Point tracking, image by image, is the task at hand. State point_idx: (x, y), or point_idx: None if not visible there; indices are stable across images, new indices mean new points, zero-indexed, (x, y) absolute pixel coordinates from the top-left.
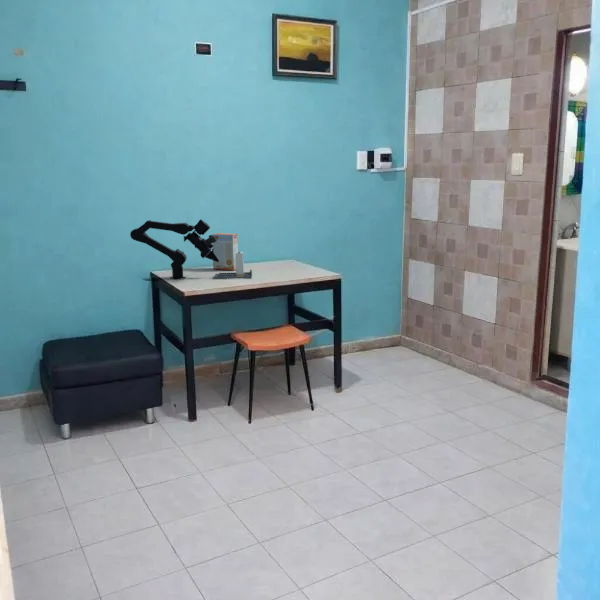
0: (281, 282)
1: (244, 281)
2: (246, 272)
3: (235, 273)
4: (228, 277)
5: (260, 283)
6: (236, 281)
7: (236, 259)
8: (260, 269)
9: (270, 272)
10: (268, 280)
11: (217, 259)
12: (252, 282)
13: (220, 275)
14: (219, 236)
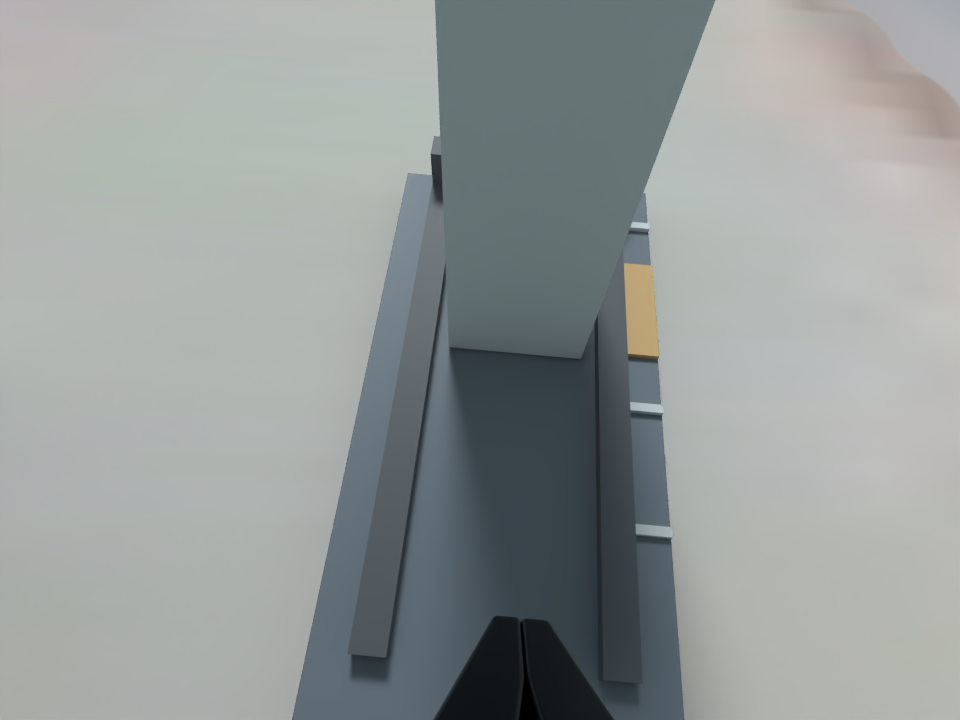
0: (861, 28)
1: (853, 297)
2: (440, 218)
3: (431, 359)
4: (660, 484)
5: (949, 164)
6: (866, 389)
7: (655, 146)
8: (51, 95)
9: (300, 43)
10: (767, 95)
11: (580, 682)
12: (905, 225)
13: (640, 626)
14: None
